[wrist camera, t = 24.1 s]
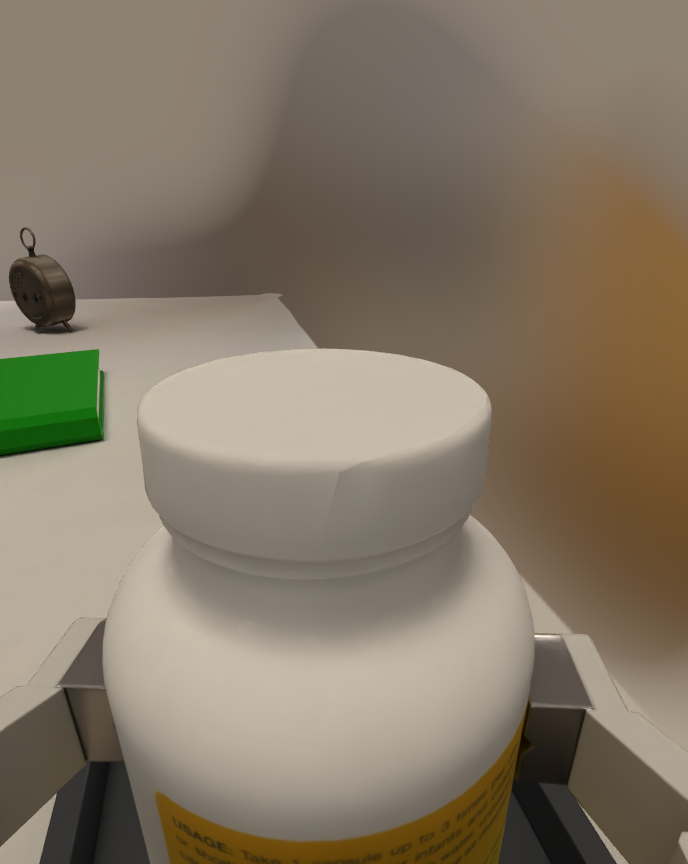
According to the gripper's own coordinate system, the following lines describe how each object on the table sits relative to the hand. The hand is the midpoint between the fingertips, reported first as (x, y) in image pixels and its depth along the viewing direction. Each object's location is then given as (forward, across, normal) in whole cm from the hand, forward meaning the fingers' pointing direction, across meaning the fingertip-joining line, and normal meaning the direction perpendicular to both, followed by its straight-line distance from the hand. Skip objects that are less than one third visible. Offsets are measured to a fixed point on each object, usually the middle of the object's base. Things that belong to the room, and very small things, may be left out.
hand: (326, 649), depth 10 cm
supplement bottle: (-1, 0, +7) cm, 7 cm away
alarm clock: (+76, +54, +10) cm, 93 cm away
